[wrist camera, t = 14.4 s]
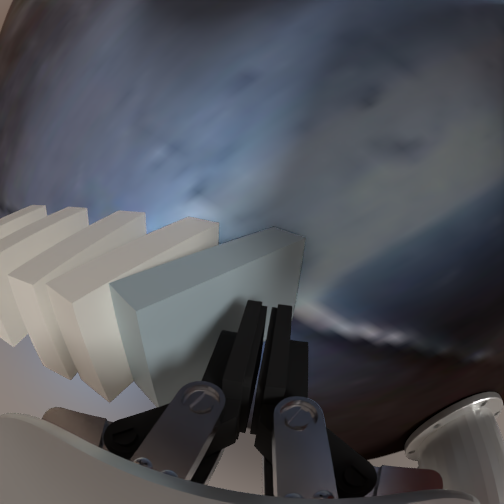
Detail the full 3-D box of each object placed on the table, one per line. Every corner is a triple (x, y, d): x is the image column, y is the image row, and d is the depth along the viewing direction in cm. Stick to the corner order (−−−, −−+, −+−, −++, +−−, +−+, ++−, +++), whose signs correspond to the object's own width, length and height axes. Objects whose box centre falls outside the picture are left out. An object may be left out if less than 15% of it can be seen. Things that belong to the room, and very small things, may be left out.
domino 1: (55, 264, 19) (-21, 321, 11) (42, 260, 19) (-31, 313, 11) (45, 205, 17) (-46, 250, 9) (32, 204, 17) (-54, 246, 9)
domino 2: (96, 274, 18) (13, 347, 10) (78, 269, 19) (-3, 335, 10) (87, 208, 16) (-19, 263, 8) (67, 206, 17) (-32, 257, 8)
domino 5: (292, 319, 16) (160, 411, 9) (264, 305, 17) (134, 381, 10) (305, 237, 14) (136, 311, 7) (273, 226, 15) (108, 283, 8)
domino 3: (151, 285, 18) (70, 380, 10) (126, 280, 18) (43, 365, 10) (145, 212, 16) (32, 284, 8) (118, 210, 16) (6, 275, 8)
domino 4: (217, 302, 17) (110, 402, 9) (190, 293, 17) (81, 379, 10) (219, 222, 15) (71, 303, 7) (188, 216, 15) (45, 283, 8)
